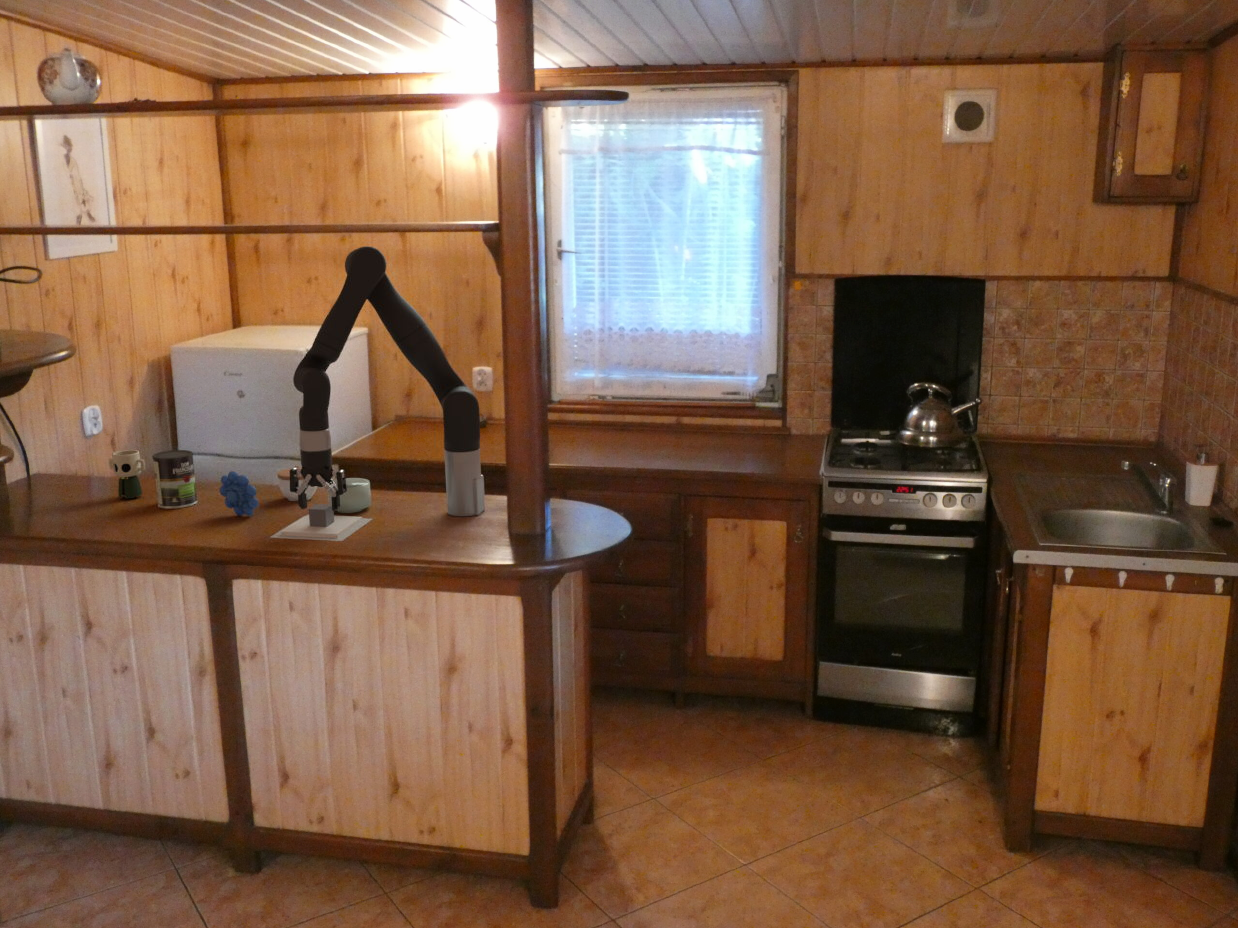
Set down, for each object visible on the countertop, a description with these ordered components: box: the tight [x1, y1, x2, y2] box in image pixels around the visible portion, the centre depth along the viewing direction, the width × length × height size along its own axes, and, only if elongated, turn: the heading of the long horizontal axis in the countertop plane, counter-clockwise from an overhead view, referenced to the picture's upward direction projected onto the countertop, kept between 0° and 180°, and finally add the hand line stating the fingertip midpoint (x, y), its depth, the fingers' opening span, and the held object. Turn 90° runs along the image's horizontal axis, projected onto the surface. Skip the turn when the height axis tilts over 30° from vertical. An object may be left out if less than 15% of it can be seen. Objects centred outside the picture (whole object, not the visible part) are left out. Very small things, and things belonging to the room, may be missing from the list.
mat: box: [269, 515, 373, 542], centre depth 282 cm, size 19×19×1 cm
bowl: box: [327, 477, 372, 514], centre depth 298 cm, size 11×11×8 cm
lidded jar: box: [276, 465, 318, 502], centre depth 310 cm, size 11×11×9 cm
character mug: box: [108, 449, 146, 500], centre depth 312 cm, size 11×7×13 cm, turn 79°
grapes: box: [219, 470, 259, 517], centre depth 293 cm, size 12×7×12 cm, turn 70°
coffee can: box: [151, 449, 199, 510], centre depth 305 cm, size 10×10×14 cm
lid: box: [280, 503, 363, 538], centre depth 282 cm, size 15×15×6 cm
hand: (319, 509), depth 281 cm, fingers open, 8 cm apart
